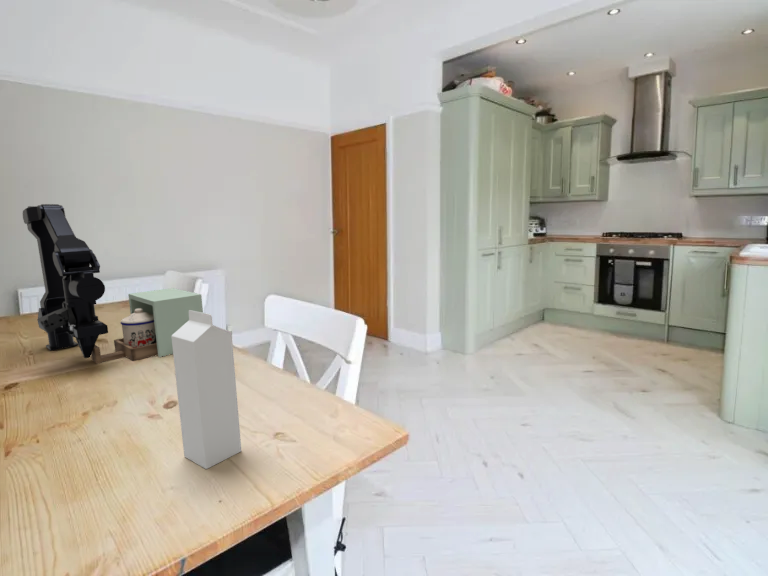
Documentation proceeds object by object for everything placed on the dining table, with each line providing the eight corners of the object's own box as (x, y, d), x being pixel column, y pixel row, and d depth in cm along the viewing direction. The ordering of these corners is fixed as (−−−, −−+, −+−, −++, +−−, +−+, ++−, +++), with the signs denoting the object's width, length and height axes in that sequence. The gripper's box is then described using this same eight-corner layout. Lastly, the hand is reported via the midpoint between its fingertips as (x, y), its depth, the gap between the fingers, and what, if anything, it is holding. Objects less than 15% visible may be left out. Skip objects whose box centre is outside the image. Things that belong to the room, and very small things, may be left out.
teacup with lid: (126, 357, 114) (121, 314, 112) (122, 349, 121) (117, 308, 119) (176, 348, 121) (171, 307, 119) (169, 341, 128) (165, 302, 126)
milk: (219, 440, 70) (207, 306, 67) (242, 451, 66) (231, 310, 63) (183, 457, 65) (168, 313, 62) (205, 470, 62) (191, 318, 58)
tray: (86, 356, 116) (84, 341, 115) (176, 337, 132) (175, 324, 132) (102, 367, 106) (100, 352, 105) (197, 345, 123) (195, 332, 122)
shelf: (134, 344, 126) (128, 293, 124) (177, 334, 135) (172, 288, 133) (159, 357, 113) (153, 301, 111) (206, 346, 122) (201, 294, 120)
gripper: (30, 297, 108) (39, 358, 110) (46, 306, 95) (56, 375, 97) (83, 291, 116) (91, 348, 118) (104, 299, 103) (112, 362, 106)
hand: (87, 357), depth 110 cm, fingers closed, pressing on tray
